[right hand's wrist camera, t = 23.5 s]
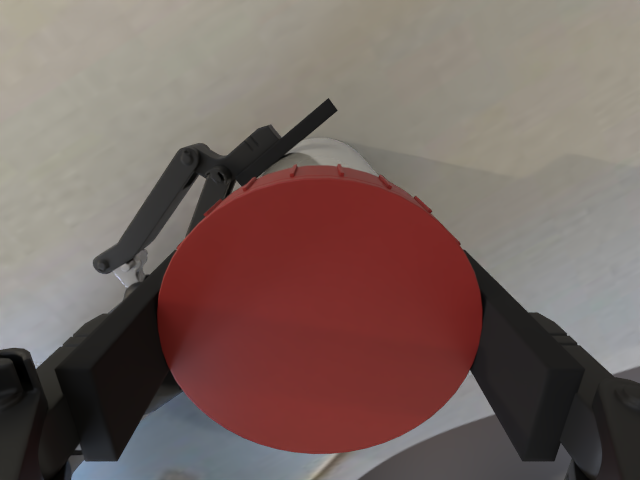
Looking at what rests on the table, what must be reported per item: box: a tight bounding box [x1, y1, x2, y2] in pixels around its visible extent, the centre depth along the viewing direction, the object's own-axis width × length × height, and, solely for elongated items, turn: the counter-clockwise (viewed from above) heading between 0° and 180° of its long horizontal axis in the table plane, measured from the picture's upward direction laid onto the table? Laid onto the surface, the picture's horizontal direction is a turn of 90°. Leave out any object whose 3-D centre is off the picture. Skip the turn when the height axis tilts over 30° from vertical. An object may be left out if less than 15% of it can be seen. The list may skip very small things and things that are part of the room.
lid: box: [157, 164, 483, 454], centre depth 11 cm, size 10×10×2 cm
